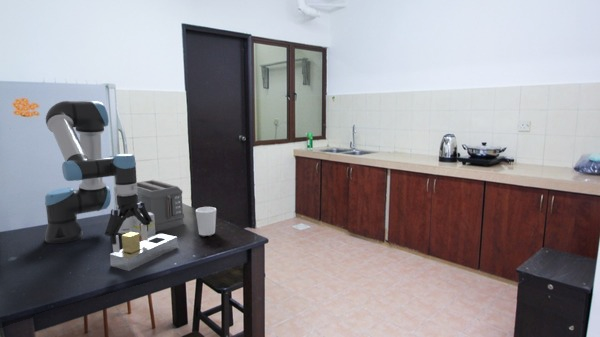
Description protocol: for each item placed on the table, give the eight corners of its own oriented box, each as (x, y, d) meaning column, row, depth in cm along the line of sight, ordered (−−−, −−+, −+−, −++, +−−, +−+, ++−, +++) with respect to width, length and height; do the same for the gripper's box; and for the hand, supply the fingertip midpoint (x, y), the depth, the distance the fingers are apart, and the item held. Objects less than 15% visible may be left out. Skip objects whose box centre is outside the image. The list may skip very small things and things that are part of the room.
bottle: (139, 229, 189) (135, 175, 184) (125, 234, 181) (121, 178, 176) (127, 227, 192) (123, 174, 187) (114, 232, 185) (109, 176, 180)
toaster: (155, 233, 183) (152, 193, 180) (124, 219, 205) (121, 183, 201) (188, 224, 197) (186, 187, 194) (155, 212, 219) (153, 178, 215)
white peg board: (110, 266, 146) (109, 254, 145) (160, 243, 169) (160, 233, 168) (128, 270, 142) (127, 258, 141) (177, 247, 165) (177, 236, 164)
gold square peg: (123, 263, 148) (121, 235, 146) (133, 259, 152) (131, 231, 150) (132, 265, 146) (129, 236, 144) (141, 261, 150) (139, 233, 148)
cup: (202, 239, 175) (201, 213, 173) (193, 234, 182) (191, 209, 180) (221, 234, 181) (220, 209, 179) (211, 229, 188) (210, 205, 186)
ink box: (138, 242, 171) (136, 217, 169) (133, 239, 175) (131, 215, 173) (156, 237, 177) (154, 213, 175) (151, 235, 181) (150, 211, 179)
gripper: (105, 202, 132) (110, 258, 135) (158, 188, 154) (161, 237, 158) (91, 200, 135) (96, 255, 138) (145, 186, 157) (148, 234, 161)
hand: (131, 245), depth 148 cm, fingers open, 13 cm apart
